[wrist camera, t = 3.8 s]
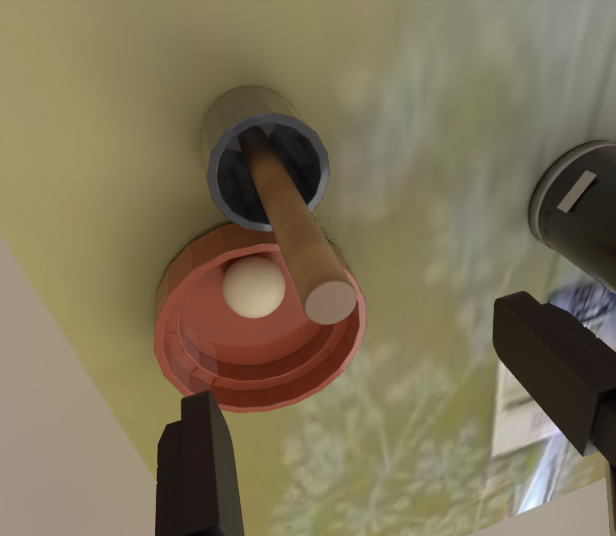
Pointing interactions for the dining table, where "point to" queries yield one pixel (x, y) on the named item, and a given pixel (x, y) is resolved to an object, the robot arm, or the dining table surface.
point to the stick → (298, 235)
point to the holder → (284, 138)
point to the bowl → (246, 330)
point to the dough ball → (253, 286)
